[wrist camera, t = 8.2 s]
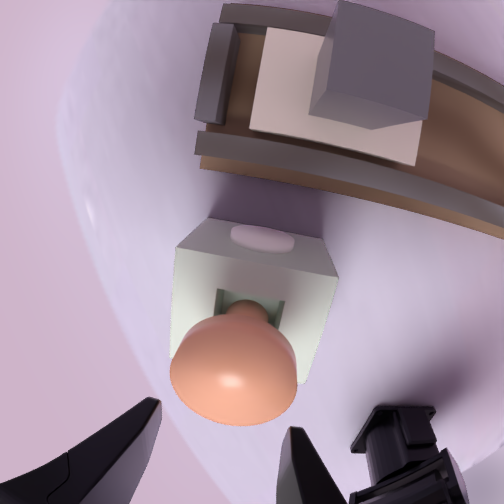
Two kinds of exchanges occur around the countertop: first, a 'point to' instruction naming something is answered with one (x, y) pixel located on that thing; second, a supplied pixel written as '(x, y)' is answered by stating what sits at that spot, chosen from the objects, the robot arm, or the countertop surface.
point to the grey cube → (254, 282)
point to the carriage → (348, 84)
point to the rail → (349, 162)
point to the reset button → (235, 367)
